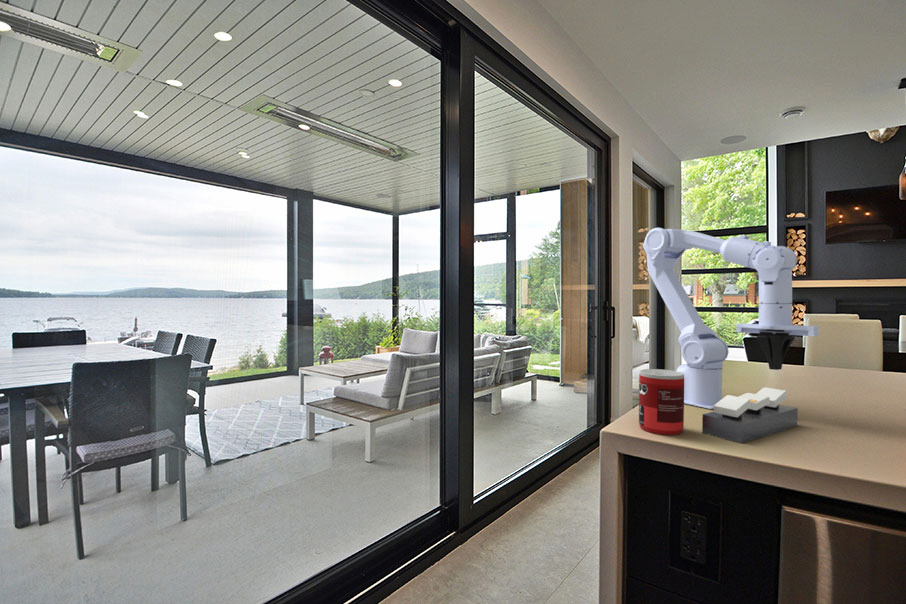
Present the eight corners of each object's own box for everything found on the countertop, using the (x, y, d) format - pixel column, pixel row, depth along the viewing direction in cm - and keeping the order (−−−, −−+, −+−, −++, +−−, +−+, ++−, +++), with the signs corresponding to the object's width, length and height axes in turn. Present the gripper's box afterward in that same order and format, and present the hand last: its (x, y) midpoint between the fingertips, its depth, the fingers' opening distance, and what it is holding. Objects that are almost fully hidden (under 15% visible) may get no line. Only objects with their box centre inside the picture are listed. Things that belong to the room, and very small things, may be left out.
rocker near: (714, 412, 85) (713, 405, 85) (728, 401, 88) (727, 394, 88) (737, 417, 82) (736, 410, 82) (751, 406, 84) (750, 399, 84)
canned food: (648, 421, 94) (648, 367, 94) (690, 429, 88) (690, 372, 88) (631, 429, 89) (632, 372, 88) (674, 438, 83) (675, 377, 83)
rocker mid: (734, 405, 89) (733, 398, 89) (747, 399, 92) (746, 391, 91) (756, 410, 86) (756, 402, 85) (769, 403, 88) (769, 395, 88)
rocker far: (753, 403, 93) (752, 396, 92) (764, 393, 95) (764, 387, 95) (775, 407, 89) (774, 400, 89) (786, 397, 92) (786, 390, 92)
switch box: (702, 433, 86) (702, 410, 86) (772, 413, 100) (772, 393, 100) (741, 443, 80) (742, 418, 80) (810, 421, 94) (811, 400, 94)
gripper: (728, 303, 100) (729, 366, 100) (806, 304, 87) (807, 375, 87) (746, 303, 104) (746, 364, 104) (823, 303, 91) (823, 372, 91)
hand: (775, 369), depth 96 cm, fingers closed
